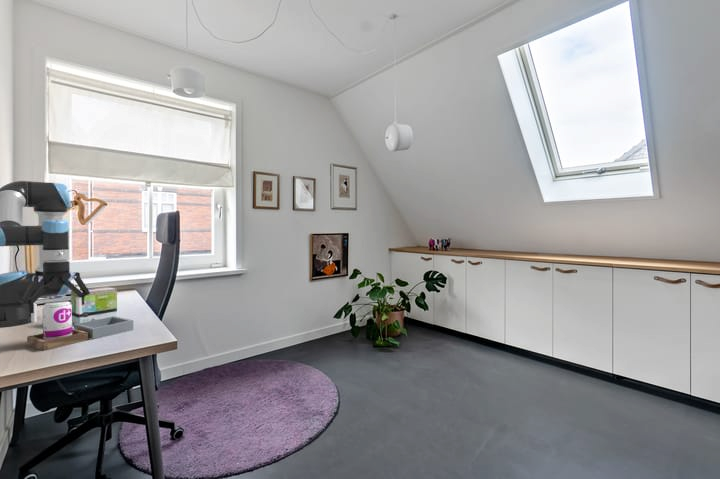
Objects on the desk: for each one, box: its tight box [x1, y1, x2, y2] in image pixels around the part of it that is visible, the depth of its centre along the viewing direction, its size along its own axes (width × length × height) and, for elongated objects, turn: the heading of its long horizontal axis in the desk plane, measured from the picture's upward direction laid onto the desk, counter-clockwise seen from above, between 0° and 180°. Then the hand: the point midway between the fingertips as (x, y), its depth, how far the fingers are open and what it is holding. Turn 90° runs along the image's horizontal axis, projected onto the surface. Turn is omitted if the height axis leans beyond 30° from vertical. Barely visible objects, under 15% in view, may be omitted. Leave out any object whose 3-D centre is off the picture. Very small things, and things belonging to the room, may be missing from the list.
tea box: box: [70, 286, 118, 325], centre depth 163 cm, size 15×10×15 cm, turn 148°
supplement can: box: [42, 300, 73, 341], centre depth 131 cm, size 8×8×15 cm
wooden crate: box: [26, 327, 89, 351], centre depth 131 cm, size 13×13×3 cm
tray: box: [73, 316, 134, 340], centre depth 145 cm, size 15×15×4 cm
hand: (57, 317), depth 131 cm, fingers open, 13 cm apart
